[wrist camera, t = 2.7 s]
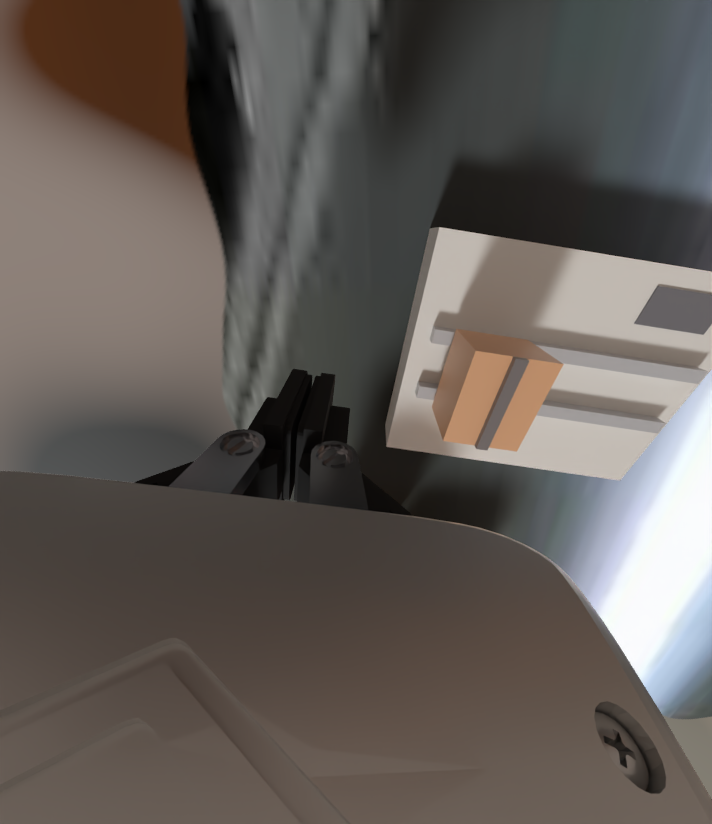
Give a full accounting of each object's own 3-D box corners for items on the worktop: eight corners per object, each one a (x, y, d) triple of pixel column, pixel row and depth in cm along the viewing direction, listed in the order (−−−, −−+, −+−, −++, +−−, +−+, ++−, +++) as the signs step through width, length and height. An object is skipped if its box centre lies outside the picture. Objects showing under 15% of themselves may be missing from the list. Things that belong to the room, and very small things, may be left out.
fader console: (723, 276, 18) (801, 285, 15) (594, 455, 25) (627, 488, 22) (429, 228, 17) (442, 226, 14) (385, 424, 25) (386, 453, 21)
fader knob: (519, 334, 17) (567, 366, 13) (487, 407, 20) (519, 455, 15) (451, 323, 17) (477, 353, 13) (428, 398, 20) (444, 444, 15)
